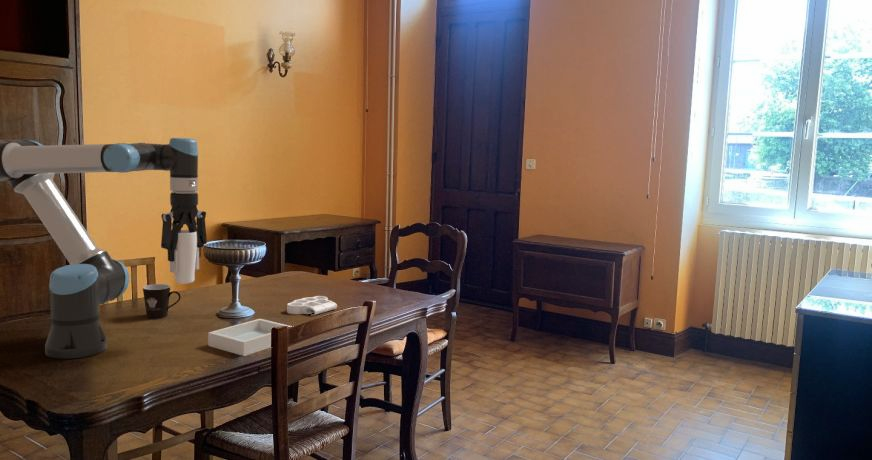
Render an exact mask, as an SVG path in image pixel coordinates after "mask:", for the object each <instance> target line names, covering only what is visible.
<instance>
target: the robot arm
mask: <svg viewBox="0 0 872 460" xmlns="http://www.w3.org/2000/svg"><path fill="white" fill-rule="evenodd" d="M198 150H199V149H198V142H197V140H196V139H194V138H187V137H185V138H184V137H171V138H170V139H169V143H165V144H162V143H159V144H158V143H146V142H134V143H133V142H132V143H123V142H119V143H109V144H108V143H107V144H106V143H104V144H103V143H102V144H101V143H99V144H98V143H97V144H95V143H94V144H92V143H91V144H60V145H59V144H57V145H55V144H54V145H51V144H50V145H43V144H42V143H40V142H38V141H35V140H30V139H25V138H18V139H0V182H8V184H9V186H10V187H11V188H12V190H13V191H14V192H15V193H17V194H22V195H23V196H24V197H25V199H26V201H27V202H28V203H29V205H30V206H31V208H32V210H34V213H36V215H37V217H38V218H39V220H40V221H41V222H42V224H43V226H44V227H45V228H46V230H47V231H48V233H49V234H50V236H51V237H52V239H53V240H54V242H55V243H56V245H57V247H58V249H59V250H60V251H61V252H62V254H63V256H64V257H65V259H66V260H67V262H68V263H69V265H65V266H62V267H58V268H56V269H55V270H53V271H52V272H51V273H50V276H49V284H48V288H49V299H50V300H49V301H50V302H49V304H50V318H51V319H50V320H51V323H50V324H51V326H50V330H49V332H48V336H47V338H46V341H45V345H44V354H45V355H46V356H47V357H49V358H52V359H64V360H65V359H79V358H85V357H90V356H94V355H96V354H100V353H102V352H104V351H105V350H106V349H107V338H106V336H105V335H106V334H104V331H103V329H102V326H101V323H100V314H99V311H100V310H99V306H101V305H103V304H105V303H107V302H112V301H114V300H116V299H117V298H119V297H120V296H121V295H123V294H124V293H125V292H126V290H127V289H128V288H129V283H130V274H129V270H128V268H127V267H126V265H125V264H124V263H123V262H121V261H119V260H117V259H113V258H111V255H110V254H109V253H108V251H107V250H105V249H100V248H98V246H97V244H96V243H95V241H94V240H93V239H92V237H91V235H90V234H89V233H88V231H87V230H86V228H85V226H84V225H83V224H82V221H80V219H79V218H78V216H77V214H76V213H75V211H74V210H73V208H72V207H71V205H70V204H69V203H68V201H67V199H66V198H65V196H64V195H63V194H62V192H61V191H60V189H59V187H58V186H57V184H56V183H55V181H54V177H55V176H56V175H55V174H76V173H77V174H81V173H87V174H88V173H120V174H122V173H124V174H125V173H130V172H141V171H142V172H143V171H167V172H169V190H170V193H169V195H170V197H169V203H170V206H171V209H170V211H169V212H168V213H162V214H161V220H162V229H161V231H162V232H161V241H160V244H161V245H160V248H162V249H165V250H167V261H168V262H169V272H170V273H173V274H175V273H178V250H175V249H176V245H177V242H178V233H180V231H181V230H182V228H183V227H184V225H186V226H187V230H189V233H193V232H195V231H196V232H197V252H196V263H195V270H200V258H201V257H202V254H201V253H202V251H201V250H202V249H201V248H203V247H204V245H206V244H207V242H208V240H207V230H206V228H207V227H206V217H207V216H206V215H207V212H206V211H202V210H198V205H199V194H198V192H197V191H198V190H199V173H198V172H199V171H198V170H199V166H198V165H199V152H198Z"/></svg>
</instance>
